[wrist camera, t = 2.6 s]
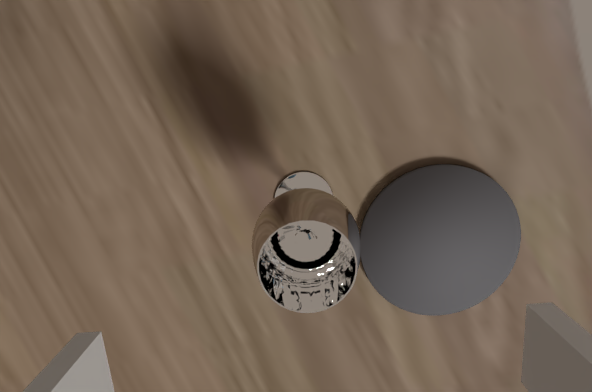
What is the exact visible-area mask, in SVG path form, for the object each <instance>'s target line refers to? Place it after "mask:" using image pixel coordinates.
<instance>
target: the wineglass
mask: <svg viewBox="0 0 592 392" xmlns="http://www.w3.org/2000/svg"><path fill="white" fill-rule="evenodd" d="M252 254H253V262H254V266H255V270H256V273H257V276H258V279H259V281H260V284H261V286H262V288H263V289H264V291H265V293H266V294H267V295H268V296H269V297H270V298H271V299H272V300H273V301H274V302H276V303H277V304H278V305H280V306H281V307H284V308H286V309H288V310H291V311H295V312H300V313H314V312H319V311H324V310H326V309H328V308H330V307H333V306H335V305H336V304H337V303H339V302H340V301H341V300H343V299H344V297H345V296H346V295H347V294H348V293H349V291H350V290H351V288H352V287H353V285H354V282H355V279H356V275H357V271H358V267H359V263H360V255H361V242H360V235H359V230H358V227H357V224H356V221H355V219H354V217H353V216H352V214H351V212H350V211H349V209H348V208H347V207H346V206H345V205H344V204H343V203H342V202H341V201H340V200H339V199H337V198H336V197H334V196H333V193H332V190H331V187H330V186H329V184H328V183H327V182H326V181H325V180H324V179H323V178H322V177H320V176H319V175H317V174H314V173H311V172H297V173H293V174H291V175H289V176H287V177H286V178H285V179H283V180H282V181H281V183H280V184H279V185H278V187H277V190H276V192H275V197H274V199H273V200H272V201H271V202H270V203H269V204H268V205H267V206H266V207H265V208H264V210H263V211H262V212H261V214H260V216H259V218H258V220H257V222H256V225H255V228H254V231H253V236H252Z"/></svg>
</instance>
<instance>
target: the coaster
mask: <svg viewBox="0 0 592 392" xmlns="http://www.w3.org/2000/svg"><path fill="white" fill-rule="evenodd" d="M520 240H521V228H520V221H519V217H518V213H517V210H516V208H515V206H514V204H513V202H512V200H511V198H510V197H509V195H508V194H507V192H506V191H505V190H504V189H503V188H502V187H501V186H500V185H499V184H498V183H496V182H495V181H494V180H493V179H491V178H490V177H488V176H486V175H485V174H483V173H480V172H478V171H476V170H473V169H471V168H468V167H464V166H460V165H452V164H437V165H430V166H425V167H421V168H418V169H415V170H412V171H410V172H408V173H406V174H404V175H402V176H400V177H398V178H397V179H395V180H394V181H393V182H391V183H390V184H389V185H388V186H386V187H385V188H384V189H383V190H382V191H381V192H380V193H379V195H378V196H377V197H376V198H375V199H374V201H373V202H372V204H371V206H370V207H369V209H368V211H367V213H366V215H365V217H364V220H363V224H362V227H361V232H360V242H361V255H360V257H361V260H362V264H363V267H364V270H365V272H366V275H367V277H368V279H369V280H370V282H371V284H372V285H373V287H374V288H375V289H376V290H377V291H378V293H379V294H380V295H382V296H383V297H384V298H385V299H386V300H387V301H389V302H390V303H392V304H393V305H395V306H397V307H399V308H401V309H403V310H406V311H409V312H412V313H416V314H422V315H446V314H452V313H456V312H460V311H462V310H465V309H468V308H470V307H472V306H474V305H476V304H478V303H480V302H481V301H483V300H484V299H486V298H487V297H488V296H490V295H491V294H492V293H493V292H494V291H495V290H496V289H497V288H498V287H499V286H500V285H501V284H502V283H503V282H504V280H505V279H506V278H507V276H508V275H509V273H510V271H511V270H512V268H513V266H514V263H515V261H516V259H517V255H518V252H519V248H520Z"/></svg>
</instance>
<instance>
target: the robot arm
mask: <svg viewBox="0 0 592 392" xmlns="http://www.w3.org/2000/svg"><path fill="white" fill-rule="evenodd" d="M521 382H522V383H523V385H524V386H525V387H526V389H527V390H528V391H529V392H592V335H591V334H590V333H589V332H587V331H586V330H585V329H584V328H583V327H581V326H580V325H579V324H578V323H576V322H575V321H574V320H573V319H572V318H570V317H569V316H568V315H567V314H566V313H564V312H563V311H562V310H561V309H559V308H558V307H557V306H556V305H555V304H553V303H537V304H527V305H526V320H525V334H524V348H523V362H522V376H521ZM23 392H114V387H113V383H112V378H111V374H110V369H109V365H108V360H107V356H106V351H105V347H104V342H103V338H102V333H101V332H86V333H77V334H76V335H75V336H74V337H73V338H72V339H71V340H70V341H69V342H68V343H67V344H66V346H65V347H64V348H63V349H62V350H61V351H60V352H59V353H58V354H57V355H56V356H55V357H54V358H53V359H52V361H51V362H50V363H49V364H48V365H47V366H46V367H45V368H44V369H43V370H42V371H41V372H40V373H39V374H38V376H37V377H36V378H35V379H34V380H33V381H32V382H31V383H30V384H29V385H28V386H27V387H26V388H25V389H24V391H23Z"/></svg>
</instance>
